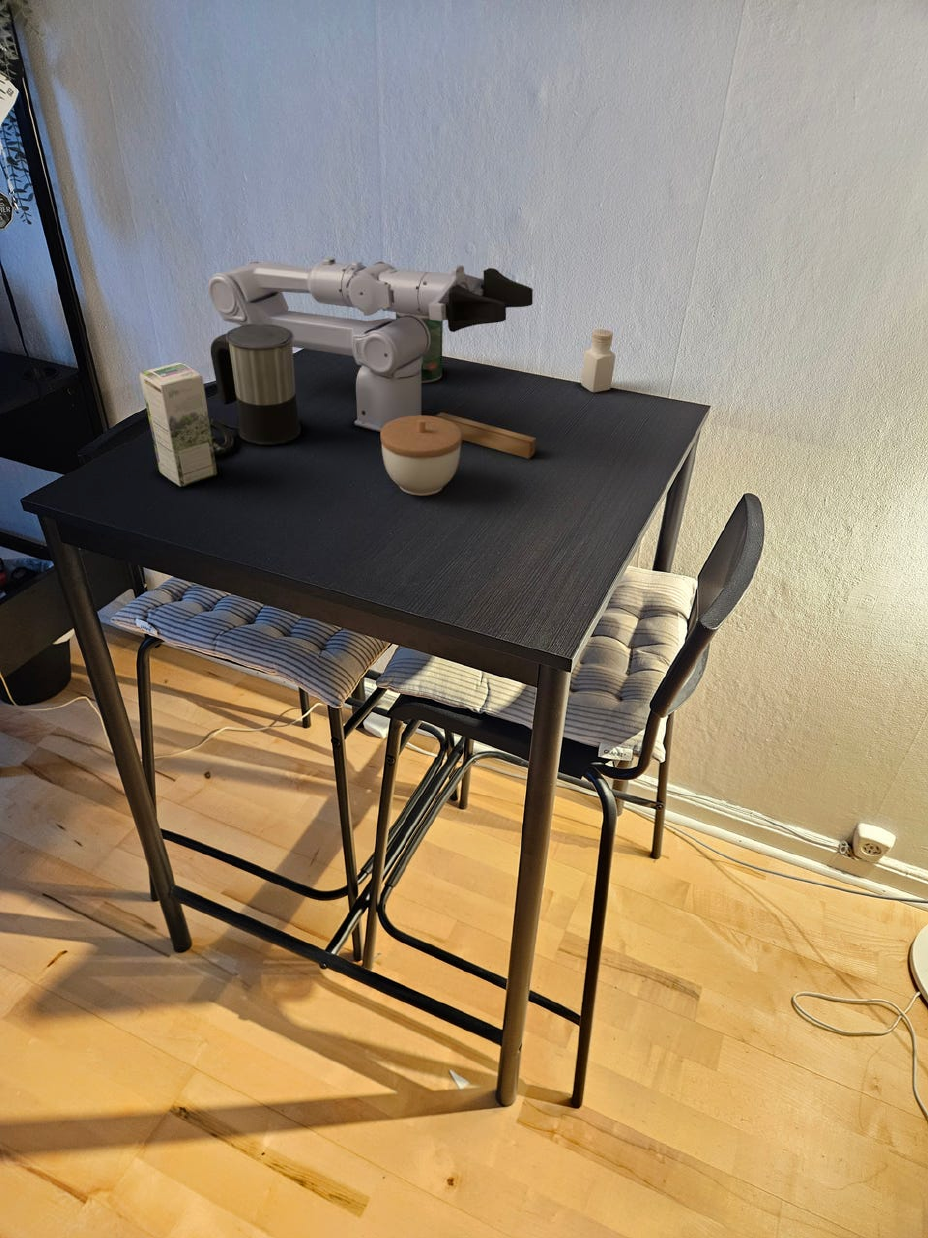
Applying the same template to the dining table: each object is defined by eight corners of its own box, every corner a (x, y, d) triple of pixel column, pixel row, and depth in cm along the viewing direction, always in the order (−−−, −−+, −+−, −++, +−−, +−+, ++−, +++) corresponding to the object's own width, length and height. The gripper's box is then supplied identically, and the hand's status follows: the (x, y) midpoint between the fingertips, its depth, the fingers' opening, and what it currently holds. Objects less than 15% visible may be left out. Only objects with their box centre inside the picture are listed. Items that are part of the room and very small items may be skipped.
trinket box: (451, 509, 109) (453, 443, 103) (372, 498, 111) (369, 432, 105) (467, 471, 117) (469, 408, 112) (393, 461, 119) (392, 399, 113)
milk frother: (311, 424, 128) (304, 327, 118) (266, 471, 116) (254, 368, 106) (226, 410, 130) (212, 314, 121) (174, 455, 118) (153, 353, 109)
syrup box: (196, 460, 117) (178, 359, 108) (219, 475, 114) (202, 372, 105) (159, 473, 114) (137, 369, 105) (181, 489, 111) (160, 384, 102)
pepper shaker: (579, 385, 143) (586, 329, 138) (598, 381, 145) (606, 326, 139) (592, 394, 141) (599, 337, 135) (611, 390, 142) (620, 334, 136)
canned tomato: (449, 370, 146) (451, 307, 140) (429, 386, 141) (430, 320, 134) (409, 362, 149) (409, 299, 142) (388, 377, 143) (386, 312, 136)
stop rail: (434, 431, 127) (434, 415, 125) (441, 427, 128) (441, 410, 127) (528, 458, 121) (530, 441, 119) (534, 453, 123) (536, 436, 121)
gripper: (397, 276, 107) (491, 285, 101) (454, 251, 117) (542, 259, 111) (402, 332, 111) (492, 344, 105) (456, 303, 121) (542, 313, 115)
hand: (518, 304), depth 108 cm, fingers open, 7 cm apart
